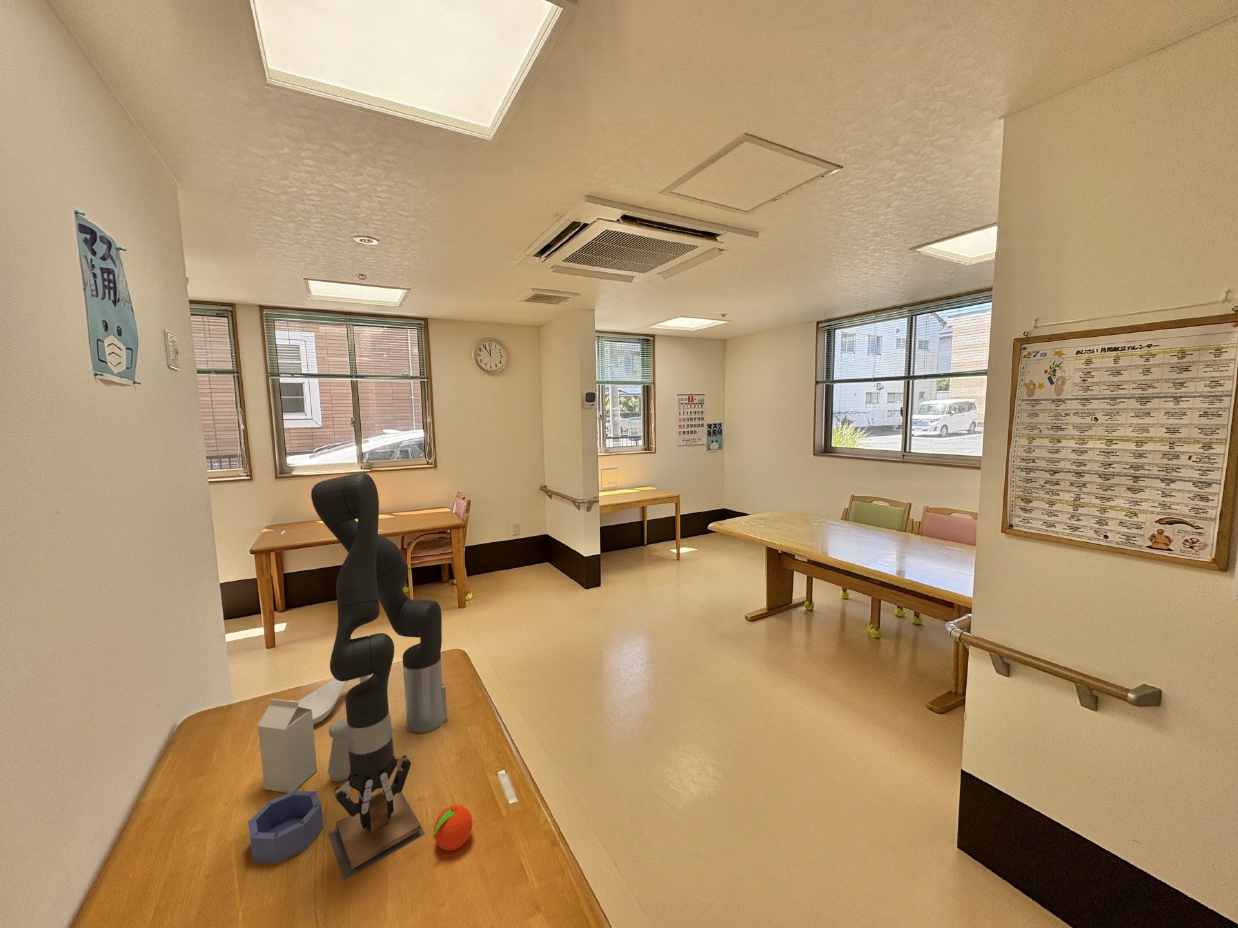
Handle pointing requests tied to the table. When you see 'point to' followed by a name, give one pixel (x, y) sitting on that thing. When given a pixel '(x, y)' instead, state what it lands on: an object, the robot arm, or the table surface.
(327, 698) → the spoon rest
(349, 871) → the mat
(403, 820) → the lid
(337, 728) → the salt shaker
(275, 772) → the milk carton
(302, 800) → the bowl
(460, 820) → the clementine
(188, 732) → the table surface
